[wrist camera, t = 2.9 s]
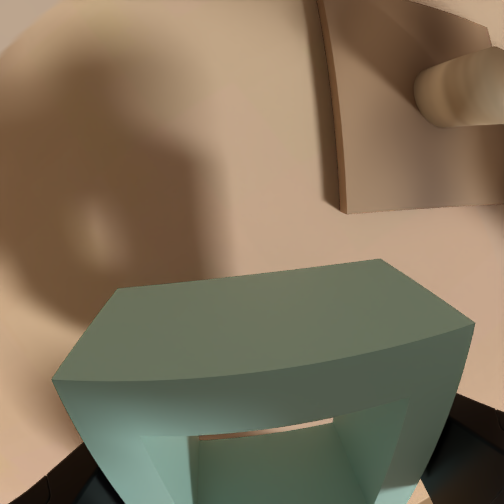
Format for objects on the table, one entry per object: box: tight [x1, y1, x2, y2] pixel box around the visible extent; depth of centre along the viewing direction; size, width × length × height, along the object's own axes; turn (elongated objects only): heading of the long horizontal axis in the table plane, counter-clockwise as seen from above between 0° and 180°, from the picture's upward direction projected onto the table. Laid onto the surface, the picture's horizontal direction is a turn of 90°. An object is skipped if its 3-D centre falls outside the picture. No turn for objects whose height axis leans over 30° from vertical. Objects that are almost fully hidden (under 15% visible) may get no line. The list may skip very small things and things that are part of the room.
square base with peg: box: [317, 0, 504, 214], centre depth 9 cm, size 10×10×5 cm
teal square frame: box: [51, 259, 475, 504], centre depth 7 cm, size 7×7×4 cm
